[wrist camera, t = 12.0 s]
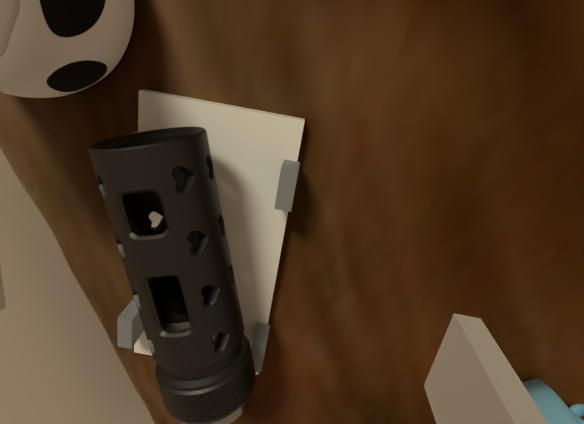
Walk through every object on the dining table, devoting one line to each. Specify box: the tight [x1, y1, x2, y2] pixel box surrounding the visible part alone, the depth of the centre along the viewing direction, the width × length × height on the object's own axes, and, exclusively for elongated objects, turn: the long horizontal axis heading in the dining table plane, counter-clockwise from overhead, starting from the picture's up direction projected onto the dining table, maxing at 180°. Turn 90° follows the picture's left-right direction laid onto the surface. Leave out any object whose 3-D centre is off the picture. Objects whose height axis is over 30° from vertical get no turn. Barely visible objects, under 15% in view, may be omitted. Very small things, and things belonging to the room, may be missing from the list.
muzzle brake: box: [88, 127, 256, 424], centre depth 35 cm, size 10×28×10 cm, turn 6°
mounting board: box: [118, 89, 305, 375], centre depth 40 cm, size 32×17×5 cm, turn 170°
